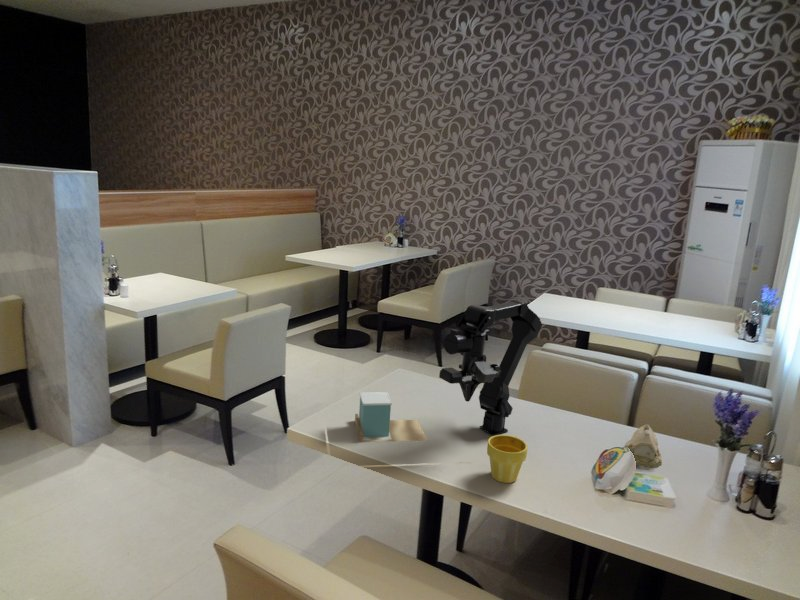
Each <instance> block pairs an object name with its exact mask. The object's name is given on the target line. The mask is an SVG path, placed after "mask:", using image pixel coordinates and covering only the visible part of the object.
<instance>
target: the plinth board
mask: <svg viewBox="0 0 800 600" xmlns="http://www.w3.org/2000/svg"><path fill="white" fill-rule="evenodd" d="M354 423H355V428H356V430H357V431H356V432H357V435H358V440H359V442H360V443H370V442H371V443H375V442H378V443H379V442H383V443H384V442H412V441H413V442H416V441H418V442H419V441H421V442H423V441H428V438H427V436H426V434H425V432H424V430H423V427H422V426H421V424H420V422H419V420H418V419H393V420H392V419H390V424H389V436H385V437H363V431H362V427H361V423H360V420H359V413H355V414H354Z"/></svg>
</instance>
